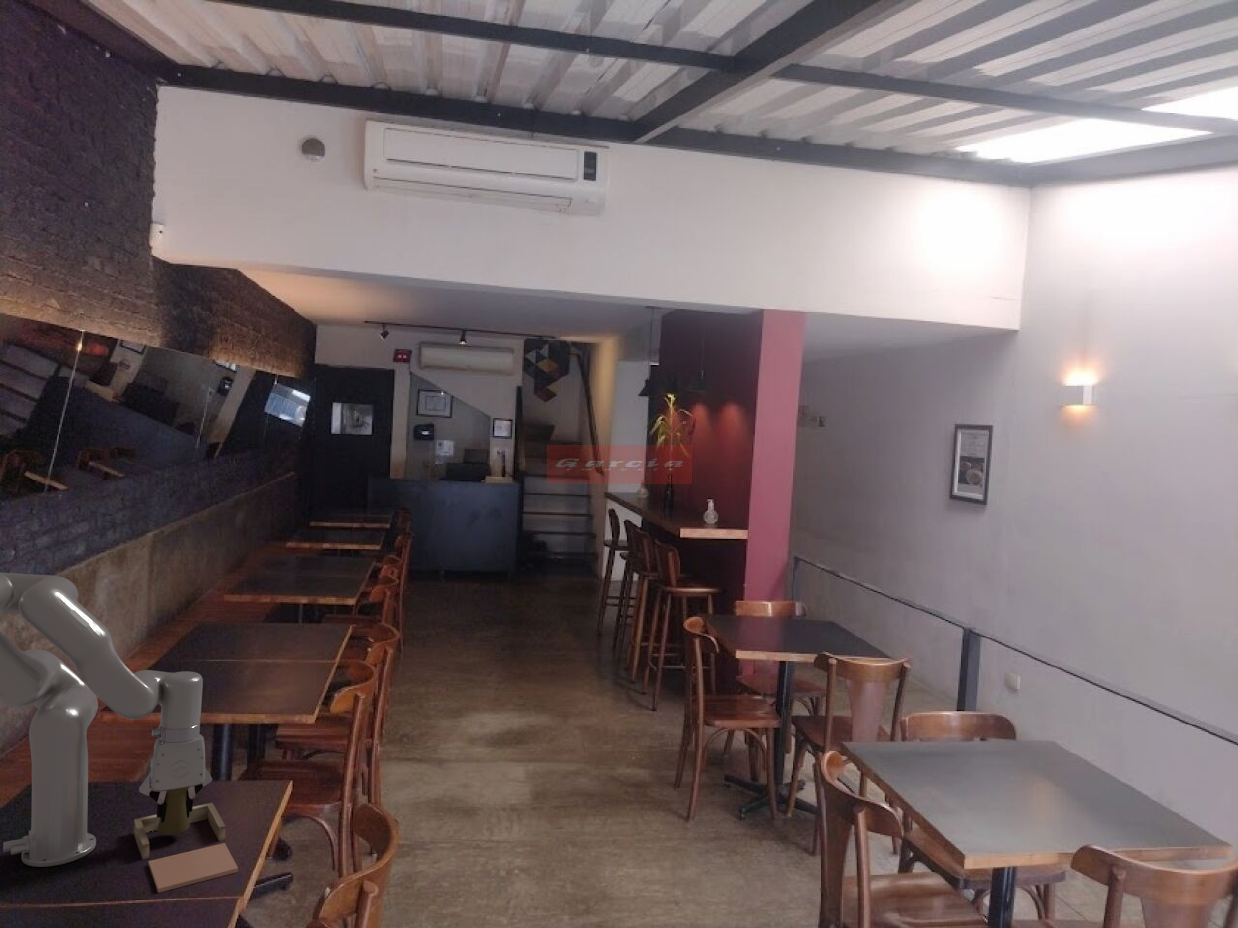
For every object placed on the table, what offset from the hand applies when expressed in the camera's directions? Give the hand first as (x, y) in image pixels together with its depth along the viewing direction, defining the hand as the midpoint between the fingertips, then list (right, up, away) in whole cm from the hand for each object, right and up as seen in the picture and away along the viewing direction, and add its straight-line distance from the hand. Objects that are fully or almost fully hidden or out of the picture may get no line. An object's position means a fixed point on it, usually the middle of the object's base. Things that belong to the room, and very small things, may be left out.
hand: (174, 816), depth 179 cm
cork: (0, -2, 0) cm, 2 cm away
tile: (+10, -5, -11) cm, 16 cm away
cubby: (+1, -5, +1) cm, 5 cm away
